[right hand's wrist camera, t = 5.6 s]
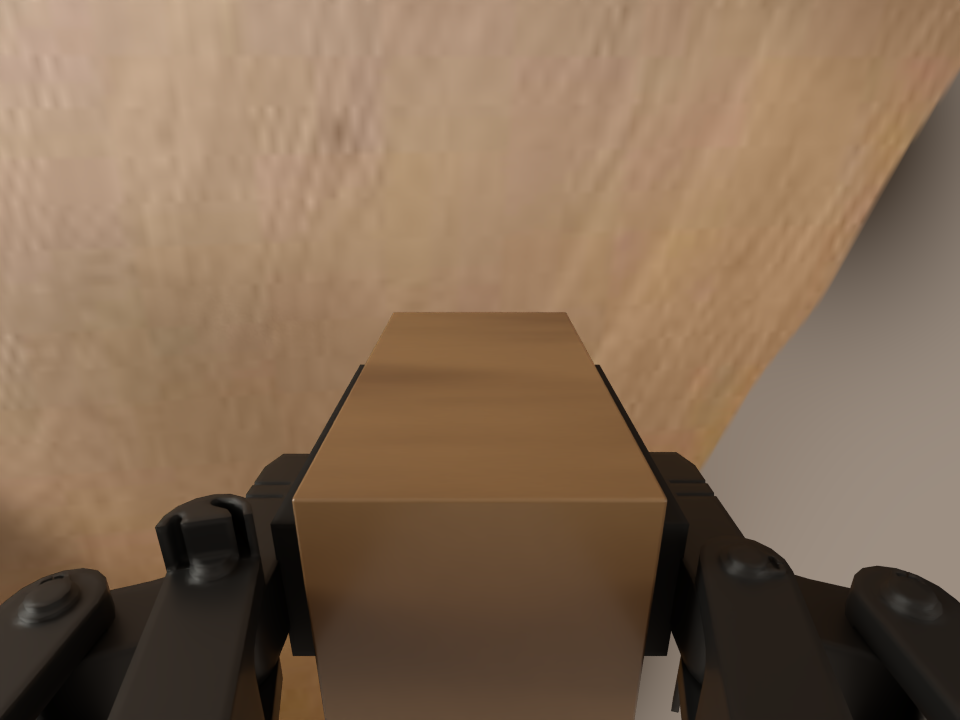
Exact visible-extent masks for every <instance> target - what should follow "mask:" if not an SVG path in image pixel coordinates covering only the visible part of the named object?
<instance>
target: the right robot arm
mask: <svg viewBox="0 0 960 720" xmlns="http://www.w3.org/2000/svg"><path fill="white" fill-rule="evenodd" d="M364 366H365V365H360V366H359V368H358V370H357V371H356V373H355V375H354V377H353V378H352V380H351V382H350V384H349V386H348V387H347V389H346V391H345V393H344V394H343V396H342V398H341V400H340V401H339V403H338V405H337V407H336V409H335V410H334V412H333V414H332V416H331V417H330V419H329V421H328V423H327V424H326V426H325V428H324V430H323V432H322V433H321V435H320V437H319V439H318V440H317V442H316V444H315V446H314V447H313V449H312V451H311V453H310V454H283V455H281V456H280V457H278V458H277V459H276V460H274V461H273V462H271V463H270V464H269V465H267V466H266V467H265V468H264V469H263V471H262V472H261V474H260V475H259V477H258V478H257V479H256V481H255V485H252V487H251V488H250V490H249V491H248V493H247V494H246V498H244V497H240V496H236V495H232V494H214V495H209V496H205V497H201V498H196V499H194V500H191V501H189V502H187V503H184V504H182V505H180V506H178V507H176V508H175V509H173V510H172V511H171V512H169V513H168V514H166V515H165V516H164V517H163V518H162V519H161V520H160V522H159V523H158V524H157V525H156V527H155V529H156V533H157V536H158V540H159V544H160V548H161V551H162V555H163V559H164V563H165V566H166V570H167V574H166V576H165V577H164V578H160V579H157V580H154V581H150V582H146V583H141V584H137V585H132V586H128V587H123V588H119V589H114V590H110V589H109V586H108V583H107V580H106V577H105V576H104V575H102V574H101V573H100V572H99V571H98V570H92V569H85V568H80V569H73V570H65V571H62V572H59V573H55V574H52V575H49V576H46V577H43V578H41V579H39V580H37V581H36V582H34V583H32V584H30V585H28V586H26V587H24V588H22V589H21V590H19V591H18V592H17V593H15V594H14V595H13V596H12V597H10V598H9V599H8V600H6V601H5V602H4V603H3V604H2V605H1V606H0V720H279V710H280V700H281V690H282V681H283V677H282V670H281V664H280V658H279V656H280V653H281V651H282V648H283V646H284V643H285V641H286V638H287V636H288V633H289V637H290V642H291V648H292V654H293V656H315V650H314V643H313V637H312V630H311V623H310V617H309V610H308V604H307V597H306V590H305V584H304V577H303V571H302V564H301V557H300V551H299V544H298V537H297V531H296V524H295V518H294V511H293V504H292V499H293V497H294V495H295V493H296V491H297V489H298V487H299V485H300V484H301V482H302V480H303V478H304V476H305V474H306V473H307V471H308V469H309V467H310V465H311V463H312V462H313V460H314V458H315V456H316V454H317V452H318V451H319V449H320V447H321V445H322V443H323V441H324V440H325V438H326V436H327V434H328V432H329V430H330V429H331V427H332V425H333V423H334V421H335V419H336V417H337V416H338V414H339V412H340V410H341V408H342V406H343V405H344V403H345V401H346V399H347V397H348V395H349V394H350V392H351V390H352V388H353V386H354V384H355V383H356V381H357V379H358V377H359V375H360V373H361V372H362V370H363V368H364ZM595 367H596V369H597V371H598V372H599V374H600V376H601V378H602V380H603V382H604V384H605V385H606V387H607V389H608V391H609V393H610V395H611V396H612V398H613V400H614V402H615V404H616V406H617V407H618V409H619V411H620V413H621V415H622V417H623V419H624V420H625V422H626V424H627V426H628V428H629V430H630V431H631V433H632V435H633V437H634V439H635V441H636V442H637V444H638V446H639V448H640V450H641V452H642V454H643V455H644V457H645V459H646V461H647V463H648V465H649V466H650V468H651V470H652V472H653V474H654V476H655V478H656V479H657V481H658V483H659V485H660V487H661V489H662V490H663V492H664V494H665V496H666V498H667V506H666V513H665V520H664V526H663V533H662V539H661V546H660V553H659V559H658V566H657V573H656V579H655V586H654V593H653V599H652V606H651V612H650V619H649V626H648V632H647V639H646V646H645V652H644V656H667V652H668V646H669V640H670V634H671V631H672V634H673V636H674V639H675V641H676V644H677V646H678V649H679V651H680V654H681V658H680V664H679V669H678V674H677V680H676V685H675V691H674V696H673V702H672V709H671V711H673V712H679V707H680V709H681V718H682V720H960V603H959V602H958V601H957V600H956V599H955V598H954V597H952V596H951V595H949V594H948V593H947V592H946V591H944V590H943V589H942V588H940V587H939V586H937V585H935V584H933V583H931V582H930V581H928V580H926V579H924V578H922V577H920V576H918V575H915V574H912V573H910V572H906V571H903V570H900V569H897V568H890V567H883V566H873V567H867V568H862V569H861V570H860V571H859V572H858V573H856V574H855V575H854V578H853V581H852V585H851V588H846V587H842V586H837V585H833V584H829V583H824V582H820V581H815V580H811V579H807V578H804V577H800V576H797V575H794V573H793V571H792V569H791V568H790V566H789V565H788V563H787V562H786V561H785V559H783V558H782V557H781V556H780V555H778V554H777V553H776V552H775V551H774V550H772V549H771V548H769V547H767V546H765V545H763V544H761V543H758V542H756V541H754V540H750V539H746V538H745V537H744V536H743V534H742V533H741V531H740V530H739V529H738V527H737V526H736V524H735V523H734V521H733V520H732V518H731V517H730V516H729V514H728V513H727V511H726V510H725V508H724V507H723V505H722V504H721V502H720V501H719V500H718V498H717V497H716V496H714V492H713V491H712V489H711V488H710V486H709V485H708V484H707V483H705V479H704V478H703V476H702V475H701V473H700V472H699V471H698V469H697V468H696V466H695V465H694V464H692V463H691V462H690V461H688V460H687V459H685V458H684V457H682V456H681V455H680V454H678V453H677V452H648V450H647V448H646V446H645V445H644V443H643V441H642V439H641V438H640V436H639V434H638V432H637V430H636V429H635V427H634V425H633V423H632V422H631V420H630V418H629V416H628V415H627V413H626V411H625V409H624V407H623V406H622V404H621V402H620V400H619V399H618V397H617V395H616V393H615V392H614V390H613V388H612V386H611V384H610V383H609V381H608V379H607V377H606V376H605V374H604V372H603V370H602V369H601V367H600V365H595Z"/></svg>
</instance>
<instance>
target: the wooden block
mask: <svg viewBox="0 0 960 720" xmlns="http://www.w3.org/2000/svg"><path fill="white" fill-rule="evenodd" d="M292 504H293V511H294V518H295V524H296V531H297V537H298V544H299V551H300V557H301V564H302V571H303V577H304V584H305V590H306V597H307V604H308V610H309V617H310V623H311V630H312V637H313V643H314V650H315V656H316V663H317V670H318V676H319V683H320V689H321V696H322V703H323V709H324V716H325V720H634V719H635V712H636V705H637V699H638V692H639V685H640V679H641V672H642V665H643V659H644V652H645V646H646V639H647V632H648V626H649V619H650V612H651V606H652V599H653V593H654V586H655V579H656V573H657V566H658V559H659V553H660V546H661V539H662V533H663V526H664V520H665V513H666V506H667V498H666V496H665V494H664V492H663V490H662V489H661V487H660V485H659V483H658V481H657V479H656V478H655V476H654V474H653V472H652V470H651V468H650V466H649V465H648V463H647V461H646V459H645V457H644V455H643V454H642V452H641V450H640V448H639V446H638V444H637V442H636V441H635V439H634V437H633V435H632V433H631V431H630V430H629V428H628V426H627V424H626V422H625V420H624V419H623V417H622V415H621V413H620V411H619V409H618V407H617V406H616V404H615V402H614V400H613V398H612V396H611V395H610V393H609V391H608V389H607V387H606V385H605V384H604V382H603V380H602V378H601V376H600V374H599V372H598V371H597V369H596V367H595V365H594V363H593V361H592V360H591V358H590V356H589V354H588V352H587V350H586V348H585V347H584V345H583V343H582V341H581V339H580V337H579V336H578V334H577V332H576V330H575V328H574V326H573V325H572V323H571V321H570V319H569V317H568V315H567V313H565V312H395V313H393V315H392V316H391V318H390V320H389V322H388V324H387V326H386V327H385V329H384V331H383V333H382V335H381V337H380V338H379V340H378V342H377V344H376V346H375V348H374V349H373V351H372V353H371V355H370V357H369V359H368V361H367V362H366V364H365V366H364V368H363V370H362V372H361V373H360V375H359V377H358V379H357V381H356V383H355V384H354V386H353V388H352V390H351V392H350V394H349V395H348V397H347V399H346V401H345V403H344V405H343V406H342V408H341V410H340V412H339V414H338V416H337V417H336V419H335V421H334V423H333V425H332V427H331V429H330V430H329V432H328V434H327V436H326V438H325V440H324V441H323V443H322V445H321V447H320V449H319V451H318V452H317V454H316V456H315V458H314V460H313V462H312V463H311V465H310V467H309V469H308V471H307V473H306V474H305V476H304V478H303V480H302V482H301V484H300V485H299V487H298V489H297V491H296V493H295V495H294V497H293V499H292Z"/></svg>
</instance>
